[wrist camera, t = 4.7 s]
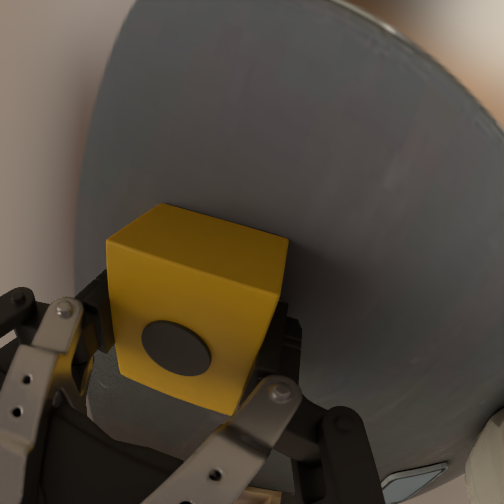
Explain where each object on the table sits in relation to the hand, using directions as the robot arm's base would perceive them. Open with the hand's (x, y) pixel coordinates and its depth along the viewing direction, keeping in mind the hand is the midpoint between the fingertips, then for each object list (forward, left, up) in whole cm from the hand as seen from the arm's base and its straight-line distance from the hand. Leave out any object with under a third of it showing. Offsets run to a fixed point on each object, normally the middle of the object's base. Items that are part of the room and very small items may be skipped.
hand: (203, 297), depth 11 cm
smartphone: (+26, -23, -1) cm, 35 cm away
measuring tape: (0, 0, -1) cm, 1 cm away
